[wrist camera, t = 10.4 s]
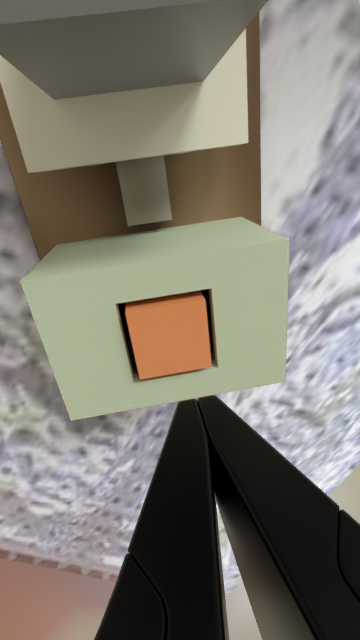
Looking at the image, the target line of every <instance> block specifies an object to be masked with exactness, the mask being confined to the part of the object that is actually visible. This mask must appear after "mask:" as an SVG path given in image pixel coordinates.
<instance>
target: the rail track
mask: <svg viewBox="0 0 360 640" xmlns="http://www.w3.org/2000/svg"><path fill="white" fill-rule="evenodd" d="M246 60H247V103H248V143H246V144H241V145H236V146H229V147H222V148H214V149H207V150H200V151H192V152H188V153H181V154H170V155H163V156H155V157H148V158H141V159H133V160H126V161H119V162H111V163H105V164H100V165H93V166H82V167H74V168H67V169H60V170H52V171H45V172H33V173H28V171H27V168H26V165H25V161H24V158H23V155H22V152H21V148H20V145H19V142H18V138H17V135H16V132H15V129H14V125H13V122H12V119H11V116H10V112H9V109H8V106H7V102H6V99H5V96H4V93H3V89H2V86H1V83H0V138H1V141H2V144H3V147H4V150H5V153H6V156H7V159H8V163H9V166H10V169H11V172H12V175H13V178H14V181H15V184H16V187H17V190H18V193H19V196H20V199H21V202H22V206H23V209H24V212H25V215H26V218H27V221H28V224H29V227H30V230H31V233H32V236H33V239H34V242H35V245H36V249H37V252H38V255H39V258H40V261H41V260H42V259H43V258H44V257H45V256H46V255H47V254H48V253H49V252H50V251H51V250H52V249H53V248H54V247H55V246H56V245H57V244H62V243H69V242H76V241H82V240H89V239H96V238H103V237H109V236H116V235H123V234H129V233H136V232H143V231H149V230H156V229H163V228H170V227H176V226H183V225H190V224H196V223H203V222H210V221H216V220H223V219H230V218H236V217H243V218H245V219H247V220H249V221H251V222H254V223H256V224H258V225H260V226H261V162H260V49H259V12H258V13H257V15H256V16H255V17H254V18H253V20H252V21H251V22H250V23H249V25H248V26H247V27H246ZM200 291H201V293H202V295H203V297H204V298H205V300H206V310H207V321H211V309H210V298H209V289H204V290H200ZM118 308H119V312H120V317H121V321H122V325H123V330H124V334H125V335H128V334H130V333H129V328H128V324H127V319H126V315H125V311H126V302H124V303H118Z"/></svg>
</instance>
